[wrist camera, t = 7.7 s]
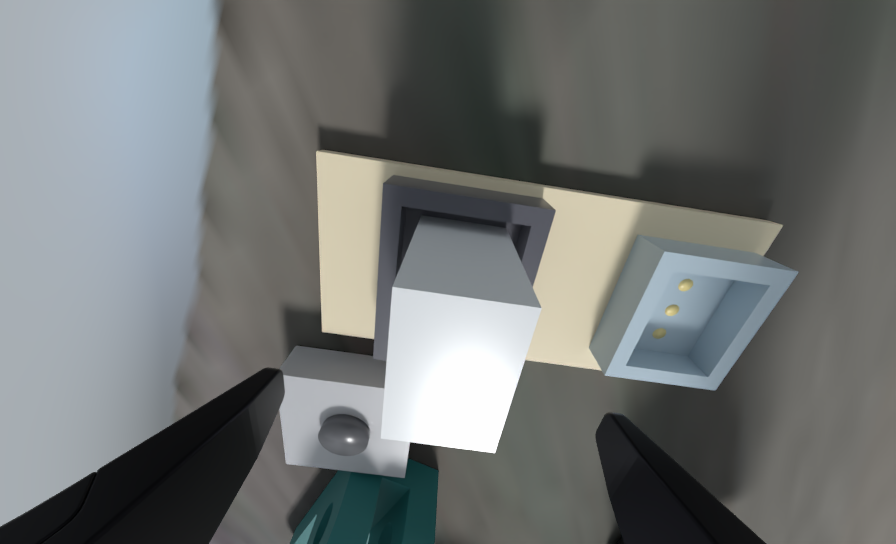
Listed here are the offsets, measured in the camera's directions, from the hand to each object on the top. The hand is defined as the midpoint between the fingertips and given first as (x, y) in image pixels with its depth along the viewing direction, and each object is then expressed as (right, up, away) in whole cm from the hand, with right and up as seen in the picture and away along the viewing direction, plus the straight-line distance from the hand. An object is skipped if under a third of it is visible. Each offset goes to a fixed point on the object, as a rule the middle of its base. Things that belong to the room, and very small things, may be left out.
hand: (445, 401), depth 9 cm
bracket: (-8, -17, +19) cm, 27 cm away
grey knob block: (-6, -5, +13) cm, 15 cm away
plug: (0, +3, +7) cm, 8 cm away
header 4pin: (0, +4, +9) cm, 9 cm away
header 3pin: (+12, +2, +9) cm, 15 cm away
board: (+4, +3, +9) cm, 10 cm away
